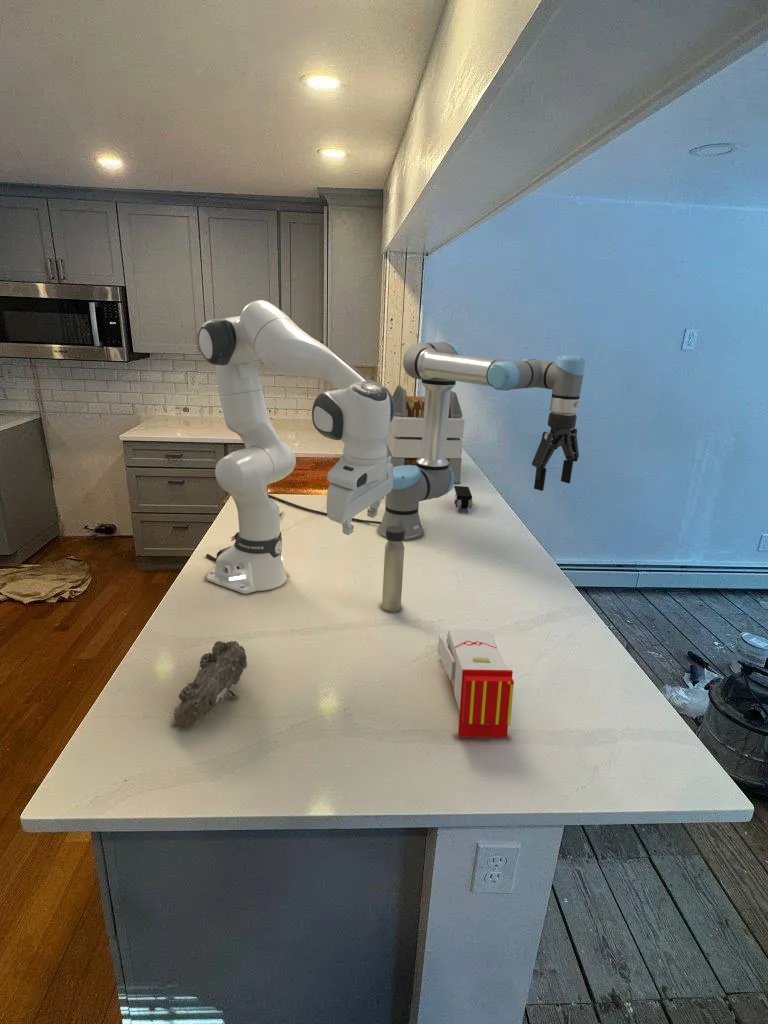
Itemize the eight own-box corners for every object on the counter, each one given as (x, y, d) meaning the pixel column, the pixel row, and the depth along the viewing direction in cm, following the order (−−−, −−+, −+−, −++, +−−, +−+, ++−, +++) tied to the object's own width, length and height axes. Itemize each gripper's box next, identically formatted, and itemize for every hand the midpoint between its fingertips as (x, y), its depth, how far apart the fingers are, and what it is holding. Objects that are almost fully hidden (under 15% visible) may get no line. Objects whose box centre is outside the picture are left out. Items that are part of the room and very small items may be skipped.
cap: (408, 539, 144) (408, 530, 143) (393, 543, 141) (394, 534, 140) (396, 533, 147) (396, 524, 146) (382, 537, 144) (382, 528, 144)
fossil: (197, 643, 123) (246, 611, 118) (228, 672, 126) (277, 642, 121) (151, 720, 104) (207, 686, 99) (188, 752, 107) (245, 721, 102)
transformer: (382, 463, 289) (386, 382, 275) (445, 464, 293) (451, 384, 279) (390, 482, 257) (394, 392, 243) (460, 483, 261) (468, 394, 247)
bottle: (404, 608, 151) (409, 531, 143) (390, 613, 148) (394, 536, 140) (392, 600, 154) (396, 525, 147) (378, 605, 151) (381, 529, 144)
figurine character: (472, 517, 222) (467, 501, 236) (475, 500, 219) (469, 484, 233) (455, 517, 222) (451, 500, 236) (457, 499, 219) (452, 484, 232)
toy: (488, 613, 130) (523, 677, 101) (484, 667, 133) (517, 744, 104) (435, 612, 130) (455, 676, 101) (432, 666, 133) (451, 743, 103)
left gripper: (378, 446, 124) (373, 502, 130) (321, 476, 108) (319, 538, 114) (403, 454, 121) (397, 511, 127) (349, 485, 105) (345, 548, 112)
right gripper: (548, 419, 148) (537, 496, 155) (598, 411, 163) (586, 482, 171) (525, 414, 153) (515, 489, 160) (575, 407, 169) (564, 476, 176)
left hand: (360, 524), depth 121 cm, fingers open, 8 cm apart
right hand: (552, 485), depth 166 cm, fingers open, 13 cm apart
